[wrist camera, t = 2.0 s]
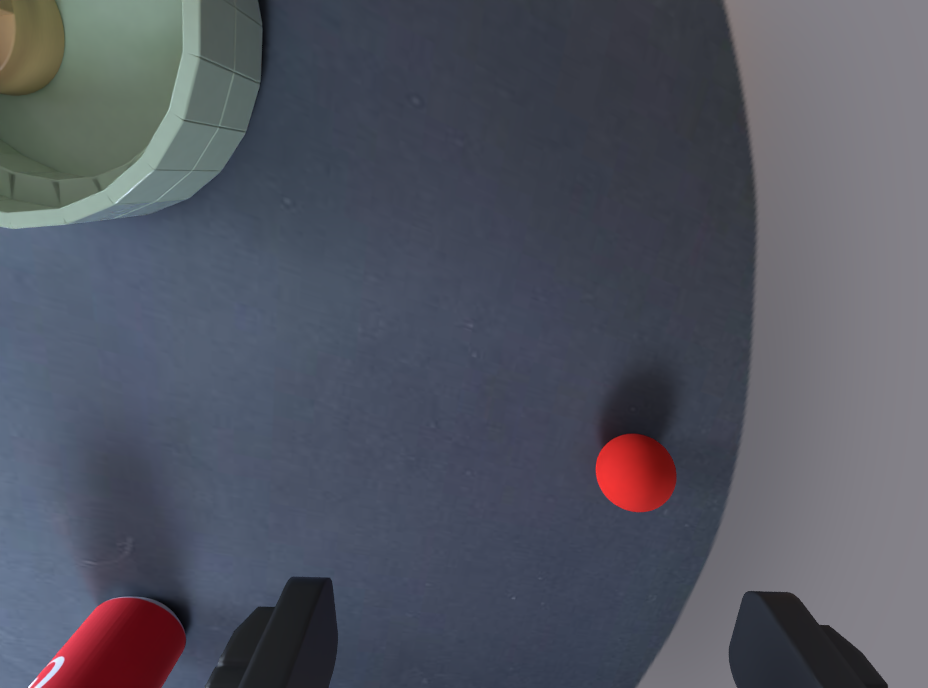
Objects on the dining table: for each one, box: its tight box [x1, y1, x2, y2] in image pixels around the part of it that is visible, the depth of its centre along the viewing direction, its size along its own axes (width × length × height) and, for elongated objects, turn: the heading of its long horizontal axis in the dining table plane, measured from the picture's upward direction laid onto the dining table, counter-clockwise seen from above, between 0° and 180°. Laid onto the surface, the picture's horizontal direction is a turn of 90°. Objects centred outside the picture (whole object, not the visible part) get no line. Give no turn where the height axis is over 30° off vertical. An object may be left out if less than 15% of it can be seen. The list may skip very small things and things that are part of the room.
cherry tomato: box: [596, 434, 676, 512], centre depth 25 cm, size 4×4×4 cm
